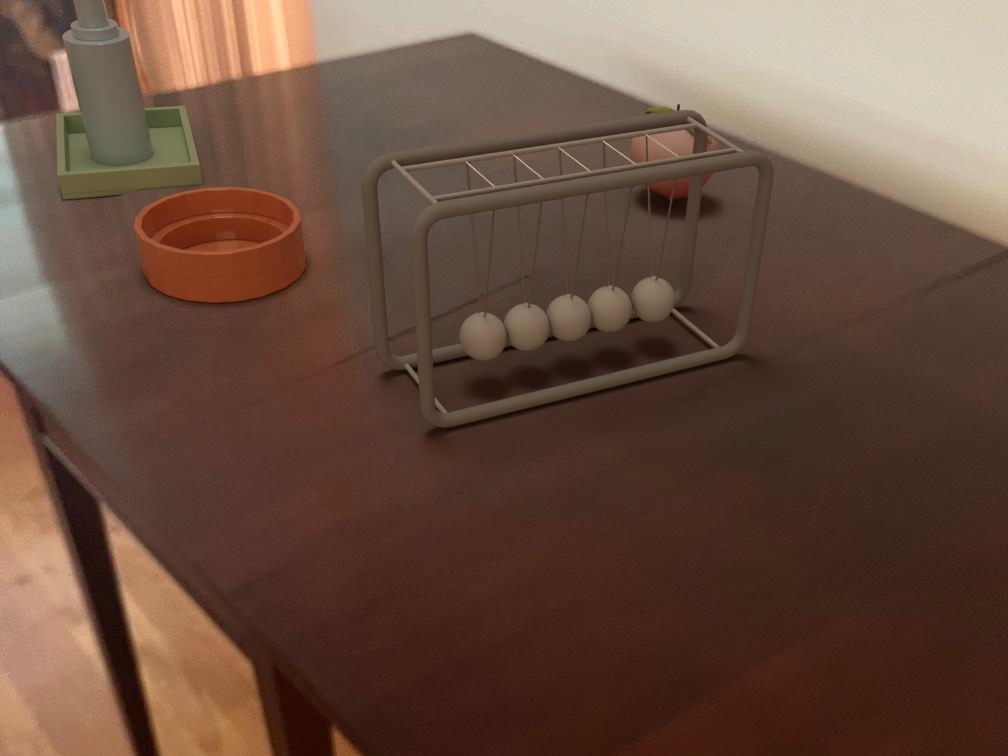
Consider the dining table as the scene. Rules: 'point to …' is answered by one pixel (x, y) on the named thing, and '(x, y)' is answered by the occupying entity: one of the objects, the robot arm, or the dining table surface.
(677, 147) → the decorative fruit
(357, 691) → the dining table surface
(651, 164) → the newton's cradle
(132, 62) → the bottle
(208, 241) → the bowl
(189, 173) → the tray
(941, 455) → the dining table surface
